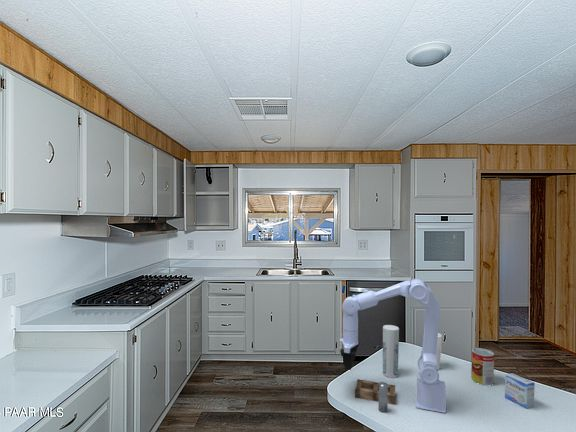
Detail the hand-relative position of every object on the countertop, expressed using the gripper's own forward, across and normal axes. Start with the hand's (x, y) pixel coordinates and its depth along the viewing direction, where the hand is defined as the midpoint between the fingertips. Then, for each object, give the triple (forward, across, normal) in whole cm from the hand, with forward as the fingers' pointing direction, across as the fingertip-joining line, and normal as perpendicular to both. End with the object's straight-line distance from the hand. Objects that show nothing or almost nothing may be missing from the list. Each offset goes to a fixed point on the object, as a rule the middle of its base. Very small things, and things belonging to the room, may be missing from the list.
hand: (349, 364), depth 127 cm
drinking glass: (+10, -34, +31) cm, 47 cm away
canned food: (+10, -28, +49) cm, 58 cm away
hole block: (+10, -1, +10) cm, 14 cm away
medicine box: (+10, -16, +59) cm, 62 cm away
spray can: (+10, -20, +14) cm, 26 cm away
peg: (+10, +8, +13) cm, 18 cm away
